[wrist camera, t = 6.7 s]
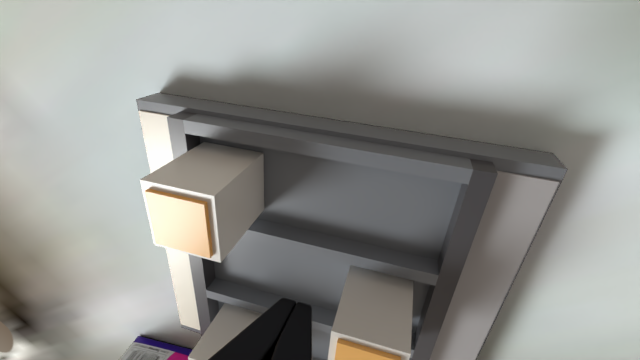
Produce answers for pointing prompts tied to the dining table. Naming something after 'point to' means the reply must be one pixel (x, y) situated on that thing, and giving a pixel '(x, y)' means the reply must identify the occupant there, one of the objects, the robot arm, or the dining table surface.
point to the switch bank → (361, 219)
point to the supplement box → (154, 351)
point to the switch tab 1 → (205, 199)
